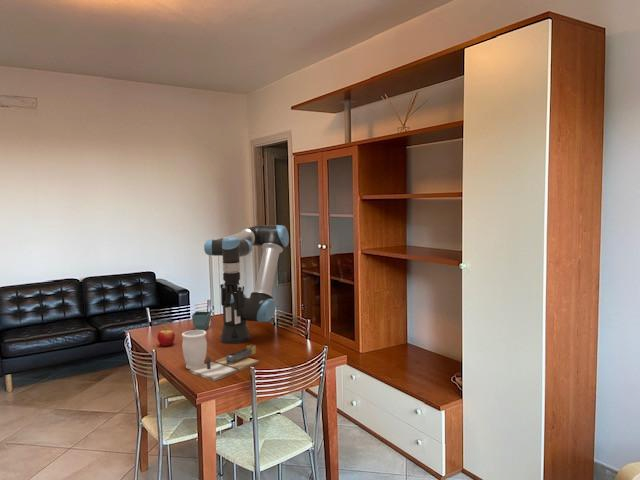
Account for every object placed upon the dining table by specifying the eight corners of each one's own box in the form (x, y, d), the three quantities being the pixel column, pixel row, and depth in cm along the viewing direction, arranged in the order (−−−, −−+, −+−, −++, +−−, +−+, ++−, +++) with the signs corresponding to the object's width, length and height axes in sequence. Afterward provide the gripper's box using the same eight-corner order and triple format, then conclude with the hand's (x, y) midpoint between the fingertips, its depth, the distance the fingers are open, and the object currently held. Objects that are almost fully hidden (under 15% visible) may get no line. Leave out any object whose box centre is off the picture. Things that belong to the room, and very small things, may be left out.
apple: (154, 345, 241) (153, 326, 240) (169, 341, 247) (169, 322, 246) (162, 349, 235) (162, 329, 234) (178, 345, 241) (177, 325, 240)
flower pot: (207, 331, 266) (207, 315, 265) (192, 331, 266) (191, 315, 265) (211, 326, 275) (211, 311, 274) (196, 326, 275) (195, 311, 274)
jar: (185, 362, 215) (184, 329, 214) (209, 361, 216) (208, 329, 215) (180, 371, 204) (179, 336, 203) (205, 370, 205) (204, 335, 204)
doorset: (189, 372, 203) (189, 358, 202) (234, 356, 222) (234, 343, 222) (214, 381, 193) (214, 366, 192) (259, 363, 213) (259, 350, 212)
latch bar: (230, 362, 207) (230, 354, 207) (224, 361, 210) (223, 353, 209) (256, 353, 219) (256, 345, 219) (250, 351, 222) (249, 344, 221)
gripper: (211, 271, 219) (213, 321, 221) (239, 274, 208) (240, 327, 210) (224, 269, 225) (226, 317, 227) (251, 272, 214) (253, 323, 216)
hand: (233, 322), depth 219 cm, fingers open, 5 cm apart
